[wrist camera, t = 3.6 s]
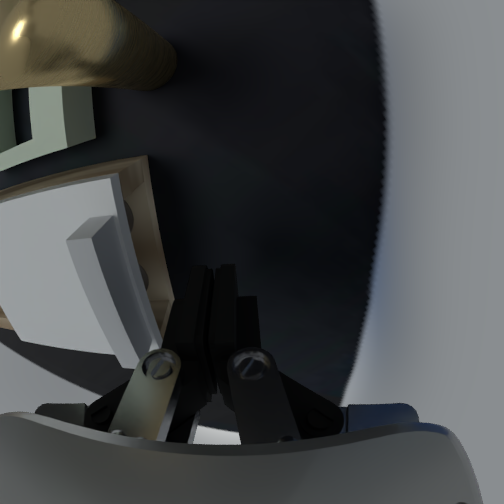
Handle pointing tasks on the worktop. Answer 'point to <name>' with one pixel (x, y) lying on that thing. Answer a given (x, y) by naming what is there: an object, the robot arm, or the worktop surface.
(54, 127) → the board
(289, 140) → the worktop surface
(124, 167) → the tray
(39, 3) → the pin
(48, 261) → the cover
